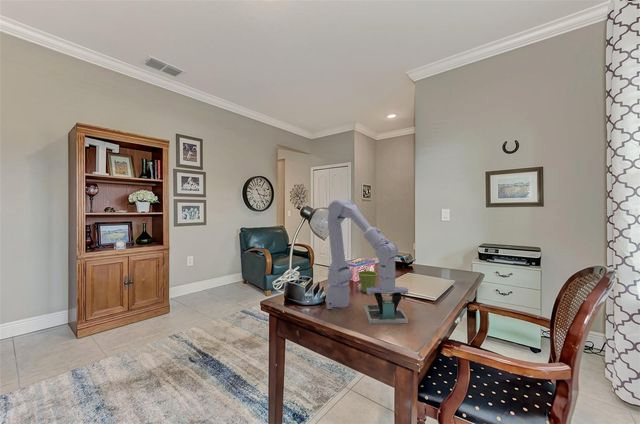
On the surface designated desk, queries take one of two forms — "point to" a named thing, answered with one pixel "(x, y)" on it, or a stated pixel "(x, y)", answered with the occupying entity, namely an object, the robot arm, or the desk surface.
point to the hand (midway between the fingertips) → (387, 313)
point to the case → (376, 317)
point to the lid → (372, 307)
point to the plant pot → (367, 279)
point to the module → (387, 309)
